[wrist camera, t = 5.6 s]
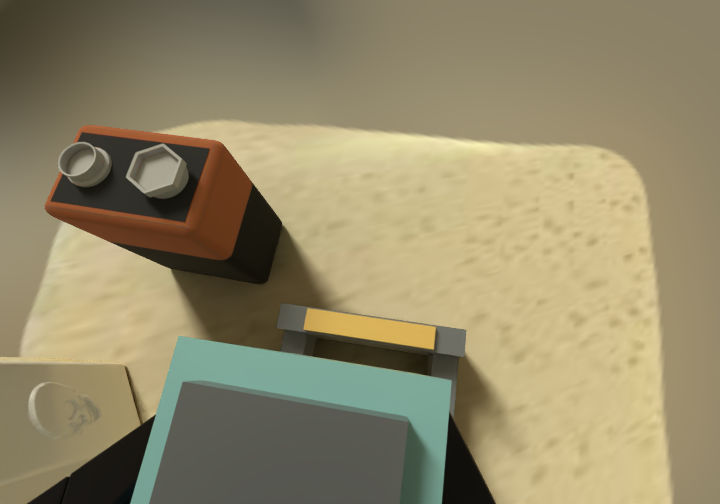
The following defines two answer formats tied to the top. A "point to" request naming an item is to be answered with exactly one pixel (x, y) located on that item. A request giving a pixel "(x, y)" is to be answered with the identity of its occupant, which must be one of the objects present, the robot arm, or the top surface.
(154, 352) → the top surface
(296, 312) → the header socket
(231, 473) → the plug
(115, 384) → the jar
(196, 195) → the battery
